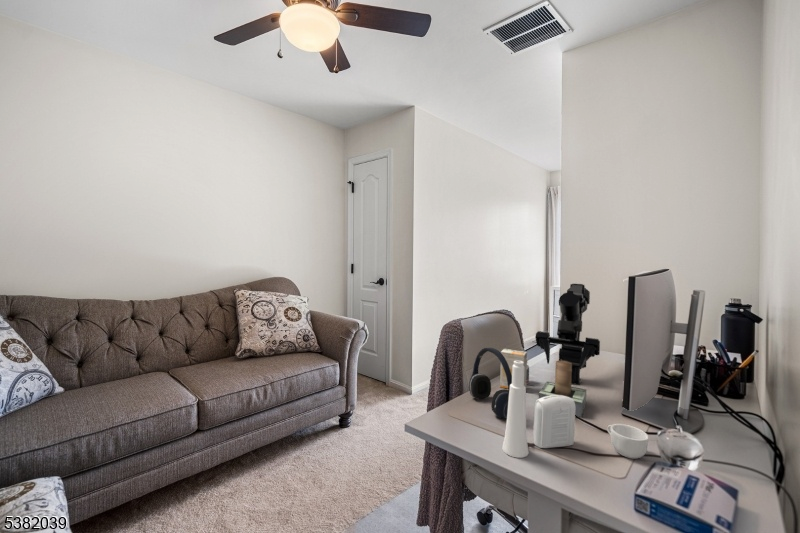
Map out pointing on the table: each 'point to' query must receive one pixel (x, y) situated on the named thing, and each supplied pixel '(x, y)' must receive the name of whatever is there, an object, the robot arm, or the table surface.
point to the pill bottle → (527, 375)
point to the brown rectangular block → (563, 378)
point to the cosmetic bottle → (516, 415)
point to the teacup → (628, 440)
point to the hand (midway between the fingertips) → (563, 365)
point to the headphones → (482, 385)
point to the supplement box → (510, 358)
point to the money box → (576, 395)
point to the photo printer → (554, 421)
